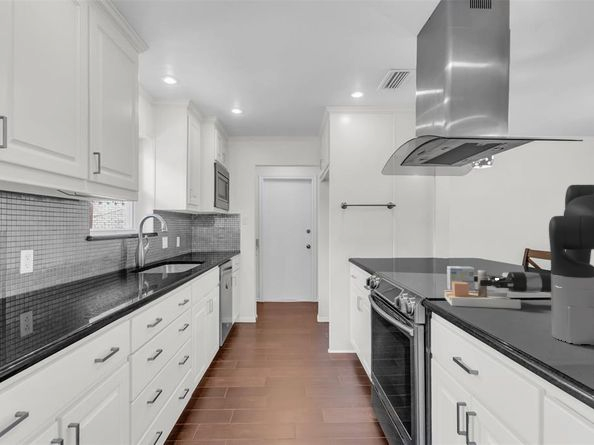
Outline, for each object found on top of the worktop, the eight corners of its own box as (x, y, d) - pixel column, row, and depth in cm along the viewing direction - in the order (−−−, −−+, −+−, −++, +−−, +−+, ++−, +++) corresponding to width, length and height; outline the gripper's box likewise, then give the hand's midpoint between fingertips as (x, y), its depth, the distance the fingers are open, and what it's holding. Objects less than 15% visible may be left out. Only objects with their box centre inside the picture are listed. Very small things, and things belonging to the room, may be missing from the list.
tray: (520, 308, 118) (520, 300, 118) (451, 305, 124) (451, 297, 124) (506, 299, 132) (506, 292, 132) (444, 297, 137) (444, 290, 137)
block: (468, 297, 127) (468, 284, 126) (454, 296, 128) (454, 283, 128) (465, 294, 131) (465, 281, 131) (451, 293, 133) (451, 281, 133)
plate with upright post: (491, 302, 122) (491, 272, 122) (450, 300, 125) (450, 271, 125) (482, 295, 132) (482, 268, 132) (445, 294, 136) (444, 268, 136)
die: (522, 294, 144) (529, 275, 147) (503, 284, 145) (510, 265, 148) (511, 296, 152) (517, 278, 155) (493, 287, 153) (499, 269, 156)
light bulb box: (471, 288, 154) (470, 265, 154) (475, 291, 147) (475, 268, 147) (446, 288, 156) (446, 265, 156) (450, 291, 149) (449, 267, 149)
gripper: (516, 269, 131) (471, 268, 135) (532, 275, 117) (482, 274, 121) (516, 288, 131) (472, 286, 135) (532, 296, 117) (482, 294, 121)
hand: (476, 280), depth 128 cm, fingers open, 8 cm apart
